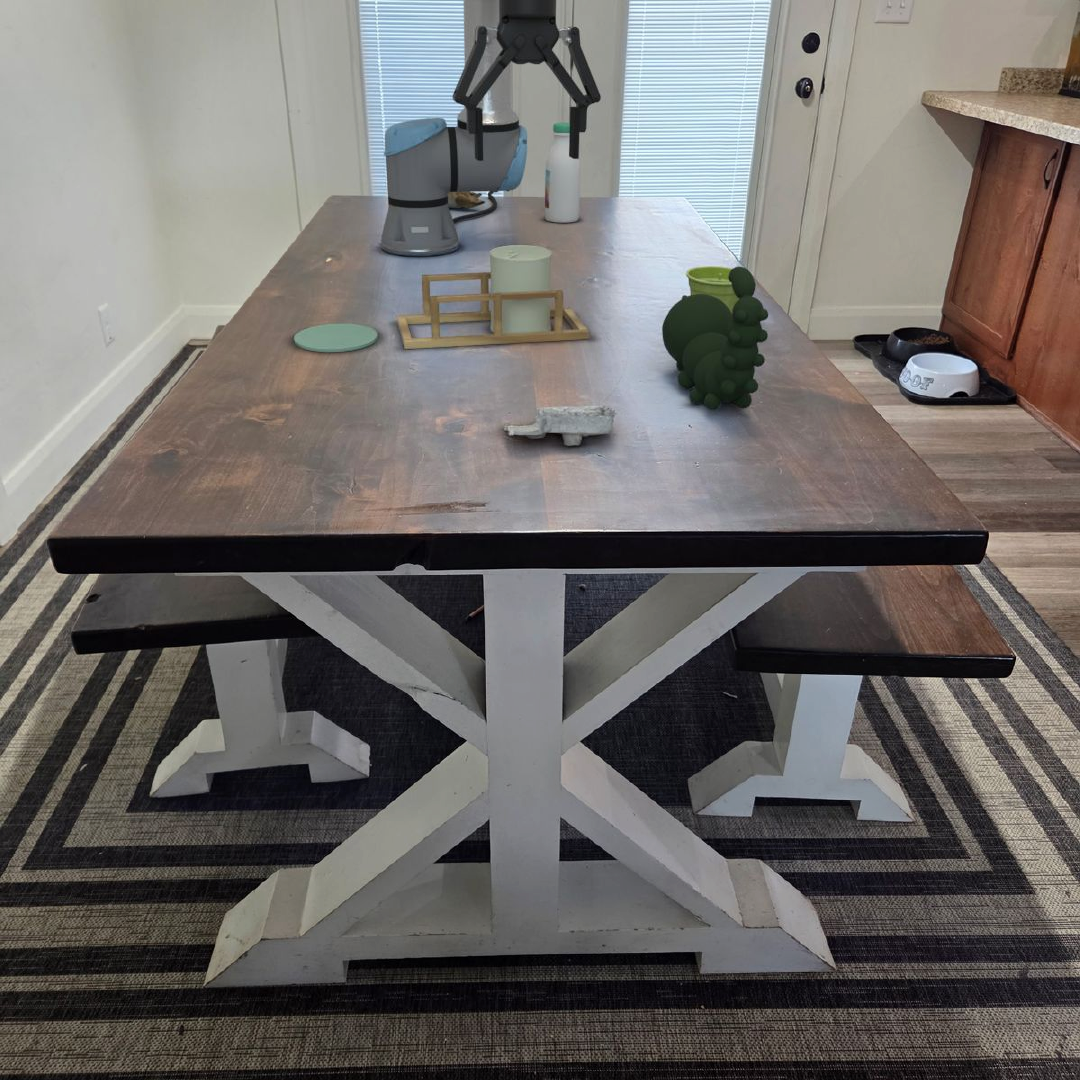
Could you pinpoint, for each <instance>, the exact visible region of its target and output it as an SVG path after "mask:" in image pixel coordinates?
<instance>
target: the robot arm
mask: <svg viewBox="0 0 1080 1080" xmlns="http://www.w3.org/2000/svg"><path fill="white" fill-rule="evenodd" d="M580 32H581V31H580V29H579V27H577V26H571V25H570V26H568V27H567V28H558V25H557V0H463V43H464V44H463V47H464V48H463V51H464V53H463V54H464V55H463V56H464V57H463V58H464V67H463V70H462V72H461V75H460V77H459V79H458V82H457V84H456V87H455V89H454V91H453V94H452V100H453V101H454V103H457V104H459V105H462V106H464V107H463V109H461V111H460V112H459V113H458V114H457V117H456V119H457V121H456V122H457V126H447V125H448V123H447V122H446V120H445V119H444V118H443V117H429V118H428V117H427V118H418V119H412V120H406V121H402V122H398V123H394V124H393V125H390V126H389V127H388V128H387V129H386V130H385V133H384V151H383V155H384V157H385V171H386V189H387V206H388V207H387V212H386V216H385V220H384V224H383V229H382V233H381V240H380V243H381V244H380V245H381V249H382V250H383V251H384V252H385V253H388V254H392V255H397V256H406V257H430V256H441V255H446V254H450V253H453V252H455V251H457V250H458V249H459V248H460V241H459V239H460V238H459V235H458V232H457V229H456V225H455V223H457V222H460V221H464V220H469V219H473V218H477V217H482V216H483V215H487V214H489V213H491V212H493V211H494V210H495V209H496V208H497V205H498V202H497V200H496V198H495V197H494V195H493V194H495V193H499V192H510V191H514V190H516V189H517V188H518V187H519V186H520V185H521V183H522V180H523V177H524V174H525V169H526V165H527V163H526V162H527V156H528V132H527V128H526V127H525V126H523V125H521V124H520V116H519V115H518V114H517V113H516V112H515V110H514V109H513V108H512V63H514V64H515V65H525V64H532V65H541V64H543V63H545V65H546V66H547V67H548V68H549V69H550V70H551V72H552V73H553V75H554V76H555V77H556V79H557V80H558V82H559V83H560V85H562V87H563V88H564V90H565V92H566V93H567V94H568V95H569V97H570V98H571V99H572V101H573V102H574V103H575V106H569V123H570V134H569V157H571V158H573V159H579V160H580V133H586V131H587V125H588V124H587V123H588V122H587V121H588V120H587V119H588V108H589V106H591V105H593V104H595V103H599V102H600V101H601V99H602V96H601V93H600V91H599V88H598V86H597V83H596V81H595V78H594V75H593V73H592V70H591V68H590V66H589V63H588V61H587V57H586V55H585V53H584V51H583V48H582V46H581V33H580ZM559 39H561V41H562V44H563V45H564V46H566V47H567V50H568V53H569V55H570V57H571V59H572V62H573V64H574V66H575V69H576V71H577V74H578V76H579V79H580V81H581V85H582V86H583V89H584V91H585V94H584V93H583V92H582V90H581V89H580V88H579V86H578V85H577V83H576V82H575V81H574V79H573V77H572V76H571V75H570V74H569V72H568V70H566V68H565V67H564V65H563V64H562V62H561V61H560V59H559V57H558V56H557V55H556V53H555V52H554V51H553V49H554V47H555V46H556V44H557V43H558V41H559ZM448 192H474V193H477V192H478V193H481V192H487V197H488V199H490V200H491V201H492V205H491V206H489V207H488V208H486V209H483V210H480V211H477V212H473V213H468V214H464V215H459V216H456V217H454V218H453V217H452V214H451V211H450V208H449V206H448Z"/></svg>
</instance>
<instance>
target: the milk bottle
mask: <svg viewBox="0 0 1080 1080" xmlns="http://www.w3.org/2000/svg"><path fill="white" fill-rule="evenodd" d="M552 131H553V133H552V135H553V142H552V145H551V148H550V151H549V152H548V155H547V158H546V162H545V175H544V176H545V177H544V180H545V181H544V218H545V220H546V221H547V222H552V223H560V224H561V223H562V224H563V223H567V224H568V223H574V222H578V221H579V219H580V202H581V201H580V200H581V199H580V197H581V161H580V158H579V159H573V158H571V157H569V134H570V122H556V123H553V125H552Z"/></svg>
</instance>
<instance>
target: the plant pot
mask: <svg viewBox="0 0 1080 1080" xmlns="http://www.w3.org/2000/svg"><path fill="white" fill-rule="evenodd" d="M732 269H733V267H726V266H718V265H717V266H714V265H713V266H712V265H710V266H707V265H706V266H697V267H692V268H689V269H687V270H686V272H685V276H686V277H687V278H688V287H689V289H690V290H689V291H690V293H689V294H690V295H694V294H707V295H711V296H713V297H716V298H718V299H719V300H721V301H722V302H723V303H725V304H726V305H727V307H728V308H729V309H730V311H731V313H732V310H733V307H734V305H735V303H736V302H737V301H738V300H739V298H738V297H737V296H736V295H735V293H734V291H733V288H732V284H731V282H730V281H729V278H728V277H729V273H730V271H731V270H732Z"/></svg>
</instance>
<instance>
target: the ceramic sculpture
mask: <svg viewBox="0 0 1080 1080" xmlns="http://www.w3.org/2000/svg"><path fill="white" fill-rule="evenodd" d="M482 196H483V193H481V192H478V193H477V192H448V206H449V209H461V208H465V209H472V208H476V207H479V206H481V205H484V204H486V201H485V200H481V199H479V198H480V197H482Z"/></svg>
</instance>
